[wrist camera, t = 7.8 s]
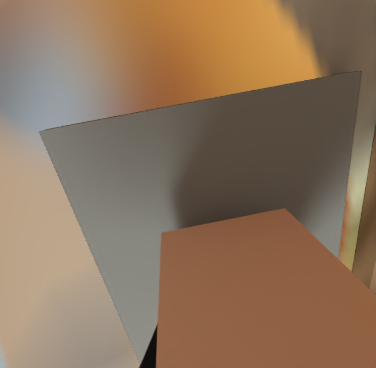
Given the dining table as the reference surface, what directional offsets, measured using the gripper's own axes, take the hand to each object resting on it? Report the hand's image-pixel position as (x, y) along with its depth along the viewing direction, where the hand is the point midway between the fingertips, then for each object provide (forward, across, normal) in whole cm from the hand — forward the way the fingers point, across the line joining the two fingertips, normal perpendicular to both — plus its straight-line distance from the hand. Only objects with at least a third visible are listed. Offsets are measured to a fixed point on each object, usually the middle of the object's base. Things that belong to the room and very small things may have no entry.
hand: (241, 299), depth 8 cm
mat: (+3, 0, 0) cm, 3 cm away
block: (+2, 0, 0) cm, 2 cm away
